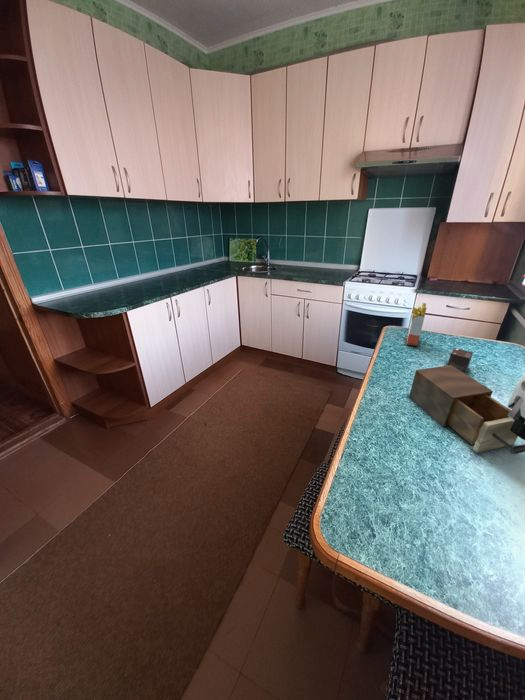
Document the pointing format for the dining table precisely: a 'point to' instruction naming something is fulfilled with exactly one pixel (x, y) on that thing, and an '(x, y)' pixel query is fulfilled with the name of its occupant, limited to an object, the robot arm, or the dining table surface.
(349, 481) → the dining table surface
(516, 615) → the dining table surface
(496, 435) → the drawer
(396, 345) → the dining table surface
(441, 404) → the cabinet
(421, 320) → the french fries container
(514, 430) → the robot arm
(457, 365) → the box
